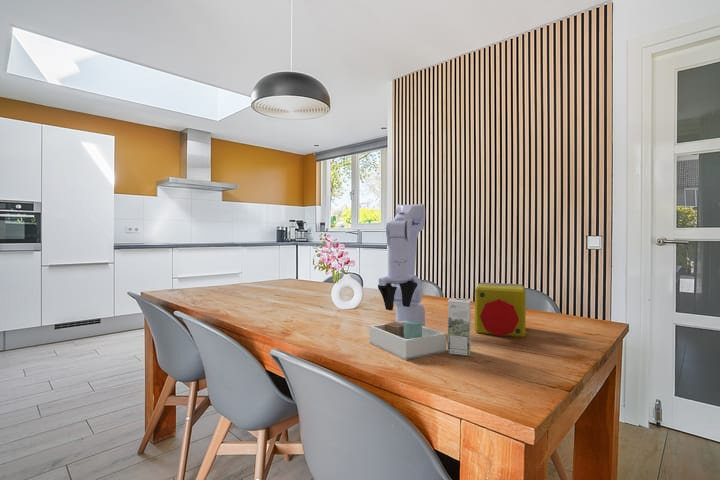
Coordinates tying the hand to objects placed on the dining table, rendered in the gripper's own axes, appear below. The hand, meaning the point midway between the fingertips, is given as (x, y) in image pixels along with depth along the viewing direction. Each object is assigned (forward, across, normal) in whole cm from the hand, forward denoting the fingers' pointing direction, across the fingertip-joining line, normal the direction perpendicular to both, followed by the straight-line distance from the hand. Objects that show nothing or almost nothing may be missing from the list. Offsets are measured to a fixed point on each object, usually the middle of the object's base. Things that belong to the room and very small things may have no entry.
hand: (397, 308), depth 107 cm
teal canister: (+10, +2, +8) cm, 13 cm away
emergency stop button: (+11, -33, +15) cm, 38 cm away
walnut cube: (+10, 0, 0) cm, 10 cm away
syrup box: (+11, -6, +17) cm, 21 cm away
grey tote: (+10, +1, +4) cm, 11 cm away
